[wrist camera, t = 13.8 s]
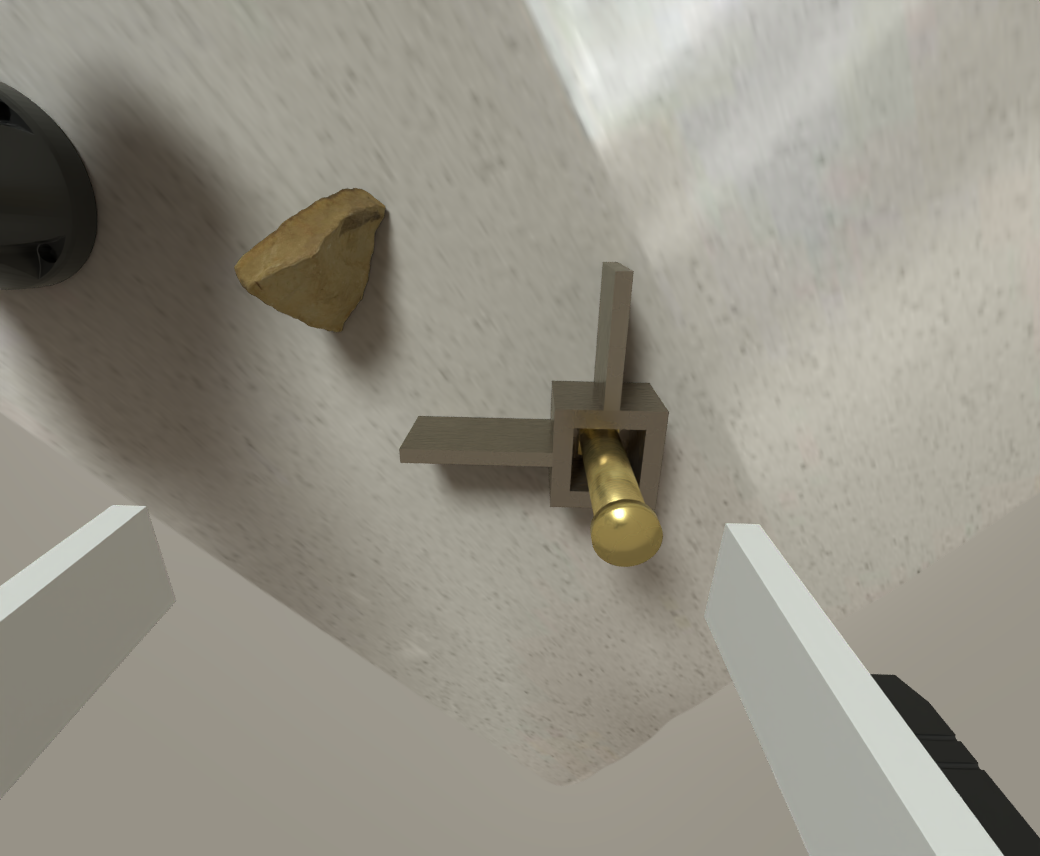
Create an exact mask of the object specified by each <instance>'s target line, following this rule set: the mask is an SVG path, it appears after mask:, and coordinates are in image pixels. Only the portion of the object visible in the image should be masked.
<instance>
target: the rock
mask: <svg viewBox="0 0 1040 856" xmlns="http://www.w3.org/2000/svg"><path fill="white" fill-rule="evenodd" d="M384 214H385V206H384V205H383V204H382V203H381V202H380V201H378V200H377V199H375V198H374V197H373V196H372V195H371V194H369V193H368V192H366V191H365V190H362V189H357V188H353V189H342V190H340V191H339V192H337V193H335V194H332V195H331V196H329V197H326V198H321V199H319V200H317V201H315V202H314V203H313V204H312V205H310V206H309V207H308V208H306V209H303V210H301V211H300V212H299V213H297V214H296V215H294V216H292V217H290V218H289V219H287V220H286V221H284V222H283V223H282V224H281V225H280V226H279V228H278V229H277V230H276V231H274V232H273V233H271V234H270V235H269V236H267V237H266V238H265V239H264V240H262V241H261V242H259V243H258V244H257V245H255V246H254V247H253V248H252V249H251V250H250V251H248V252H247V253H246V254H244V255H243V256H242V257H241V258H240V260H239V261H238V263H237V264H236V265H235V266H234V269H235V272H236V275H237V277H238V279H239V281H240V283H241V285H242V286H243V287H244V288H245V289H246V290H247V291H248V292H249V293H250V294H251V295H254V296H256V297H257V298H259V299H260V300H262V301H263V302H264V303H265V304H267V305H269V306H272V307H273V308H274V309H276V310H277V311H280V312H282V313H284V314H287V315H289V316H291V317H293V318H296V319H299V320H300V321H302V322H304V323H305V324H307V325H308V326H311V327H315V328H321V329H325V330H327V331H334V332H341V331H342V330H343V324H344V322H345V321H346V319H347V318H348V317H349V315H350V313H351V312H352V311H353V310H354V309H355V308H356V306H357V304H358V302H359V301H360V300H362V297H363V293H364V289H365V286H366V283H367V281H368V278H369V277H368V274H369V271H370V260H371V255H372V253H373V250H374V236H375V231H376V229H377V228H378V226H379V224H380V222H381V221H382V220H383V217H384Z"/></svg>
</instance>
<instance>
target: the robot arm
mask: <svg viewBox="0 0 1040 856" xmlns="http://www.w3.org/2000/svg"><path fill="white" fill-rule="evenodd" d="M96 228H97V212H96V203H95V198H94V194H93V190H92V186H91V183H90V180H89V177H88V175H87V172H86V170H85V168H84V166H83V163H82V162H81V160H80V158H79V156H78V154H77V152H76V151H75V149H74V147H73V146H72V144H71V143H70V141H69V140H68V138H67V137H66V136H65V134H64V133H63V132H62V131H61V129H60V128H59V127H58V126H57V124H56V123H55V122H54V121H53V120H52V119H51V118H50V117H49V116H48V115H47V114H46V113H45V112H44V111H43V110H42V109H41V108H40V107H38V106H37V105H36V104H35V103H34V102H32V101H31V100H30V99H29V98H27V97H26V96H24V95H23V94H22V93H20V92H18V91H17V90H15V89H14V88H12V87H10V86H8V85H6V84H4V83H2V82H0V289H5V290H19V289H28V288H35V287H42V286H48V285H52V284H56V283H59V282H61V281H63V280H65V279H67V278H69V277H70V276H72V275H73V274H74V273H76V272H77V271H78V270H79V269H80V268H81V267H82V265H83V264H84V263H85V261H86V260H87V258H88V256H89V254H90V252H91V250H92V247H93V244H94V241H95V236H96ZM175 602H176V599H175V595H174V592H173V589H172V586H171V583H170V579H169V576H168V573H167V570H166V567H165V564H164V560H163V557H162V554H161V551H160V548H159V545H158V541H157V538H156V535H155V532H154V529H153V526H152V522H151V519H150V516H149V513H148V510H147V507H146V506H124V505H123V506H122V505H112V506H111V507H109V508H108V509H106V510H105V511H104V512H103V513H101V514H100V515H98V516H97V517H95V518H94V519H93V520H92V521H90V522H88V523H87V524H86V525H84V526H83V527H82V528H80V529H79V530H78V531H76V532H75V533H73V534H72V535H71V536H69V537H68V538H66V539H65V540H64V541H62V542H61V543H60V544H58V545H57V546H55V547H54V548H53V549H51V550H50V551H48V552H47V553H46V554H44V555H43V556H41V557H40V558H39V559H38V560H36V561H35V562H33V563H32V564H30V565H29V566H28V567H26V568H25V569H24V570H22V571H21V572H20V573H18V574H17V575H15V576H14V577H12V578H11V579H10V580H8V581H7V582H6V583H4V584H3V585H1V586H0V800H1V798H2V797H3V796H4V795H5V794H6V792H8V791H9V789H10V788H11V787H12V786H13V785H14V784H15V783H16V781H17V780H18V779H19V778H20V777H21V776H22V775H23V774H24V772H25V771H26V770H27V769H28V768H29V767H30V766H31V765H32V763H33V762H34V761H35V760H36V759H37V758H38V757H39V755H40V754H41V753H42V752H43V751H44V750H45V749H46V748H47V746H48V745H49V744H50V743H51V742H52V741H53V740H54V738H55V737H56V736H57V735H58V734H59V733H60V732H61V730H62V729H63V728H64V727H65V726H66V725H67V724H68V723H69V722H70V720H71V719H72V718H73V717H74V716H75V715H76V714H77V713H78V711H79V710H80V709H81V708H82V707H83V706H84V705H85V703H86V702H87V701H88V700H89V699H90V698H91V697H92V696H93V694H94V693H95V692H96V691H97V690H98V689H99V687H100V686H101V685H102V684H103V683H104V682H105V681H106V680H107V679H108V677H109V676H110V675H111V674H112V673H113V672H114V671H115V669H116V668H117V667H118V666H119V665H120V664H121V663H122V662H123V660H124V659H125V658H126V657H127V656H128V655H129V654H130V652H132V650H133V649H134V648H135V647H136V646H137V645H138V644H139V642H140V641H141V640H142V639H143V638H144V637H145V636H146V635H147V633H148V632H149V631H150V630H151V629H152V628H153V627H154V626H155V624H156V623H157V622H158V621H159V620H160V619H161V618H162V616H163V615H164V614H165V613H166V612H167V611H168V610H169V609H170V607H171V606H172V605H173V604H174V603H175ZM704 617H705V619H706V621H707V624H708V626H709V628H710V631H711V633H712V635H713V637H714V640H715V642H716V644H717V646H718V649H719V651H720V653H721V656H722V658H723V660H724V662H725V665H726V667H727V669H728V672H729V674H730V676H731V678H732V681H733V683H734V685H735V688H736V690H737V692H738V694H739V697H740V699H741V701H742V704H743V706H744V708H745V710H746V713H747V715H748V717H749V719H750V722H751V724H752V726H753V729H754V731H755V733H756V735H757V738H758V740H759V742H760V744H761V747H762V749H763V751H764V753H765V756H766V758H767V760H768V763H769V765H770V767H771V769H772V772H773V774H774V777H775V779H776V781H777V783H778V786H779V788H780V790H781V792H782V795H783V797H784V799H785V801H786V804H787V806H788V808H789V810H790V813H791V815H792V818H793V820H794V822H795V824H796V827H797V829H798V831H799V834H800V836H801V838H802V840H803V843H804V845H805V847H806V850H807V852H808V854H809V856H1040V838H1039V837H1038V835H1037V834H1036V833H1035V832H1034V831H1033V829H1032V828H1031V827H1030V826H1029V825H1028V823H1027V822H1026V821H1025V820H1024V818H1023V817H1022V816H1021V815H1020V813H1019V812H1018V811H1017V810H1016V808H1015V807H1014V806H1013V805H1012V804H1011V802H1010V801H1009V800H1008V799H1007V797H1006V796H1005V795H1004V794H1003V793H1002V791H1001V790H1000V789H999V788H998V786H997V785H996V784H995V783H994V782H993V780H992V779H991V778H990V777H989V775H988V774H987V773H986V772H985V771H984V770H981V769H980V768H979V767H978V762H977V761H976V760H975V758H974V757H973V756H972V755H971V753H970V752H969V751H968V750H967V748H966V747H965V746H964V745H963V744H962V742H961V741H957V740H956V738H955V734H954V732H953V731H952V730H951V729H950V728H949V726H948V725H947V724H946V723H945V721H944V720H943V719H942V718H941V717H940V715H939V714H938V713H937V712H936V710H935V709H934V708H933V707H932V706H931V704H930V703H929V702H928V701H927V700H925V699H924V698H923V697H922V696H920V695H919V694H918V693H917V692H915V691H914V690H913V689H912V688H910V687H909V686H908V685H907V684H905V683H904V682H903V681H901V680H900V679H899V678H898V677H897V676H896V675H878V674H869V672H868V671H867V670H866V668H865V667H864V665H863V664H862V663H861V661H860V660H859V659H858V657H857V656H856V655H855V653H854V652H853V651H852V649H851V648H850V647H849V645H848V644H847V643H846V641H845V640H844V638H843V637H842V636H841V634H840V633H839V632H838V630H837V629H836V628H835V626H834V625H833V623H832V622H831V621H830V619H829V618H828V617H827V615H826V614H825V613H824V611H823V610H822V609H821V607H820V606H819V605H818V603H817V602H816V600H815V599H814V598H813V596H812V595H811V594H810V592H809V591H808V590H807V588H806V587H805V586H804V584H803V583H802V582H801V580H800V579H799V577H798V576H797V575H796V573H795V572H794V571H793V569H792V568H791V567H790V565H789V564H788V563H787V561H786V560H785V558H784V557H783V556H782V554H781V553H780V552H779V550H778V549H777V548H776V546H775V545H774V544H773V542H772V541H771V540H770V538H769V537H768V535H767V534H766V533H765V531H764V530H763V529H762V527H761V526H760V525H759V524H731V523H726V524H725V528H724V533H723V537H722V541H721V546H720V550H719V554H718V559H717V563H716V567H715V572H714V576H713V580H712V585H711V589H710V593H709V598H708V602H707V606H706V611H705V615H704Z"/></svg>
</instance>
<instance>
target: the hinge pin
mask: <svg viewBox="0 0 1040 856" xmlns="http://www.w3.org/2000/svg"><path fill="white" fill-rule="evenodd" d="M577 452H578V454H579V455H582V457H583V462H584V467H585V472H586V478H587V483H588V488H589V493H590V499H591V504H592V509H593V514H594V517H593V519H592V522H591V526H590V533H591V539H592V545H593V548H594V550H595V552H596V553H597V555H598V556H599V557H600V558H601V559H603V560H604V561H606V562H607V563H610V564H612V565H615V566H622V567H629V566H635V565H638V564H641V563H643V562H646V561H647V560H649V559H650V558H651V557H653V556H654V555H655V554H656V552H657V551H658V550H659V548H660V546H661V543H662V539H663V533H662V528H661V525H660V523H659V520H658V518H657V516H656V514H655V512H654V511H653V510H652V509H651V508H650V507H649V506H648V505H646V504H645V502H644V500H643V497H642V494H641V492H640V489H639V486H638V484H637V481H636V478H635V476H634V473H633V470H632V468H631V465H630V462H629V460H628V457H627V454H626V452H625V449H624V446H623V444H622V441H621V438H620V436H619V429H587V428H578V442H577Z"/></svg>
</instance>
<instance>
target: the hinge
mask: <svg viewBox="0 0 1040 856" xmlns="http://www.w3.org/2000/svg"><path fill="white" fill-rule="evenodd" d="M633 272H634V271H632V270H630V269H629V268H627V267H625V266H623V265H622V264H620V263H618V262H603V267H602V280H601V294H600V307H599V320H598V333H597V346H596V360H595V373H594V382H578V381H552V395H551V419H512V418H472V417H433V416H418V418H417V420H416V421H415V423H414V425H413V427H412V428H411V430H410V432H409V433H408V435H407V437H406V438H405V440H404V442H403V444H402V445H401V447H400V449H399V451H400V463H428V464H465V465H501V466H538V467H548V468H549V488H550V507H575V508H592V504H591V499H590V493H589V488H588V483H587V478H586V472H585V467H584V462H583V457H582V455H579V454H578V452H577V442H578V428H587V429H619V436H620V438H621V441H622V444H623V446H624V449H625V452H626V454H627V457H628V460H629V462H630V465H631V468H632V470H633V473H634V476H635V478H636V481H637V484H638V486H639V489H640V492H641V494H642V497H643V500H644V502H645V504H646V505H648V506H649V507H650V508H651V509H652V510H655V508H656V501H657V494H658V487H659V479H660V472H661V465H662V458H663V451H664V444H665V436H666V429H667V422H668V415H669V411H668V410H667V408H666V407H665V405H664V404H663V403H662V401H661V400H660V398H659V397H658V395H657V394H656V392H655V391H654V389H653V388H652V386H651V385H650V383H623V373H624V363H625V353H626V343H627V333H628V323H629V313H630V302H631V292H632V282H633Z"/></svg>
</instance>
